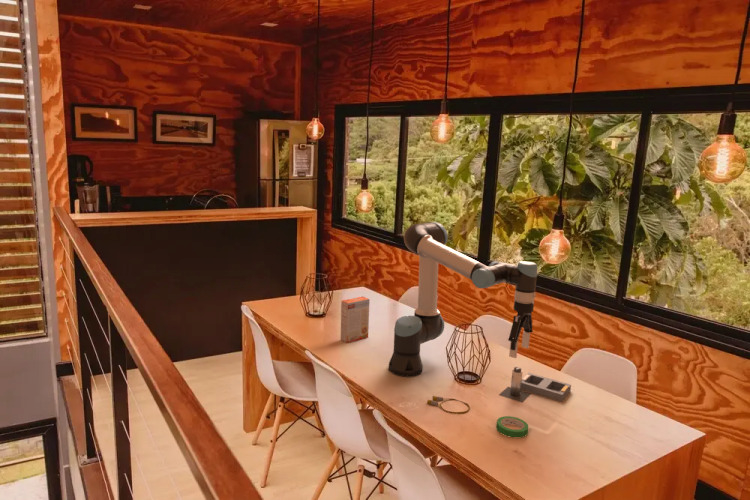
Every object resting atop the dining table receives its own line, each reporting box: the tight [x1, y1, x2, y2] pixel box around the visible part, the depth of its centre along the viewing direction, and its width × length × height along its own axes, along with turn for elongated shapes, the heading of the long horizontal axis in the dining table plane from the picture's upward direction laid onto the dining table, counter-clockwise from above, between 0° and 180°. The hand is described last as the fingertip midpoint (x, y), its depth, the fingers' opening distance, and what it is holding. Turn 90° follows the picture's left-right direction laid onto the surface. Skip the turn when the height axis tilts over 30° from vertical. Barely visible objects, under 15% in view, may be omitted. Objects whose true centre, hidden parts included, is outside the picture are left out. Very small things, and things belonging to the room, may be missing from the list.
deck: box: [498, 386, 532, 403], centre depth 225 cm, size 10×10×1 cm
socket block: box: [521, 372, 572, 403], centre depth 230 cm, size 12×18×4 cm, turn 55°
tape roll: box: [495, 415, 529, 438], centre depth 199 cm, size 11×11×3 cm
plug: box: [510, 366, 523, 397], centre depth 224 cm, size 4×4×11 cm
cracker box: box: [340, 296, 370, 344], centre depth 278 cm, size 14×6×21 cm, turn 130°
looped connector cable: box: [426, 395, 470, 415], centre depth 215 cm, size 12×16×2 cm
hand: (519, 352), depth 221 cm, fingers open, 13 cm apart
